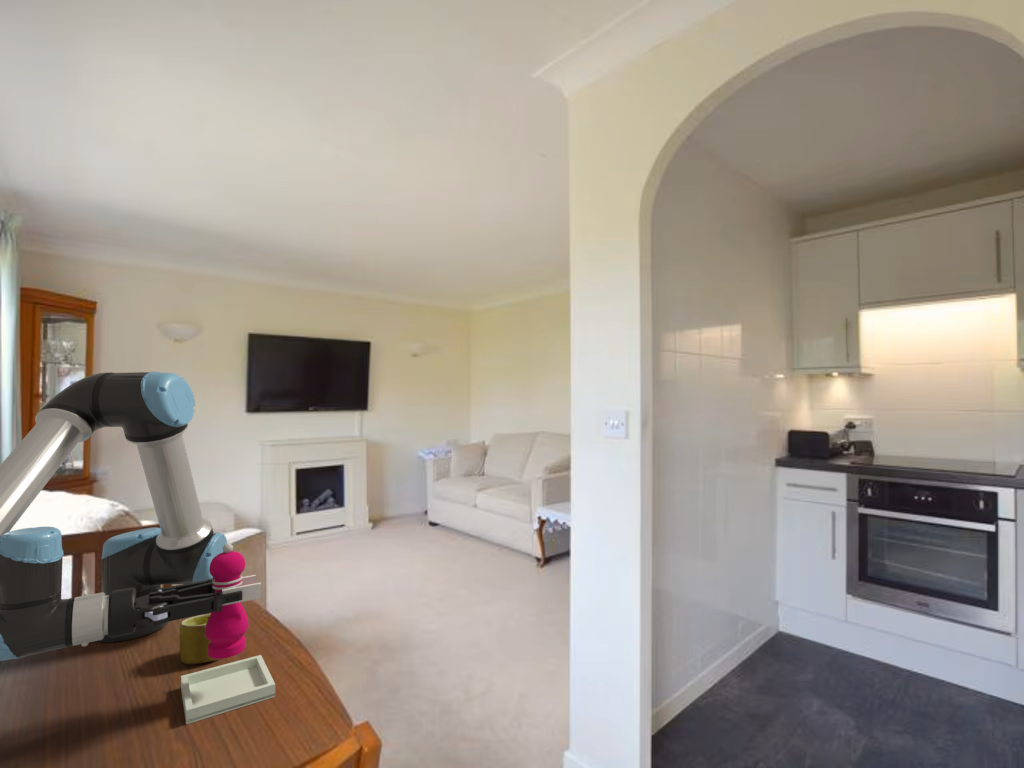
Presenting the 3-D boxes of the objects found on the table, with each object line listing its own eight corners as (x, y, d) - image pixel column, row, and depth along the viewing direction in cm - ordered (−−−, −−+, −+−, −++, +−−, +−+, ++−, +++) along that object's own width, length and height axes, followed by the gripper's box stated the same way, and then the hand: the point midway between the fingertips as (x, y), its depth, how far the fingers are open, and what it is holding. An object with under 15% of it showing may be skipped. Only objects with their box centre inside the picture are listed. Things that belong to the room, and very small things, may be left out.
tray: (180, 688, 100) (180, 675, 100) (260, 666, 108) (261, 654, 108) (186, 724, 89) (186, 710, 89) (275, 696, 97) (275, 684, 97)
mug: (209, 663, 106) (204, 611, 109) (167, 675, 108) (164, 624, 111) (253, 648, 117) (247, 602, 120) (215, 659, 119) (210, 613, 122)
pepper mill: (202, 663, 94) (203, 550, 95) (207, 646, 101) (208, 541, 101) (247, 655, 97) (247, 546, 98) (249, 639, 104) (250, 537, 104)
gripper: (109, 620, 96) (250, 592, 109) (103, 658, 81) (267, 620, 95) (110, 578, 96) (250, 555, 110) (104, 609, 82) (267, 578, 95)
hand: (258, 586), depth 102 cm, fingers closed on pepper mill, 5 cm apart
